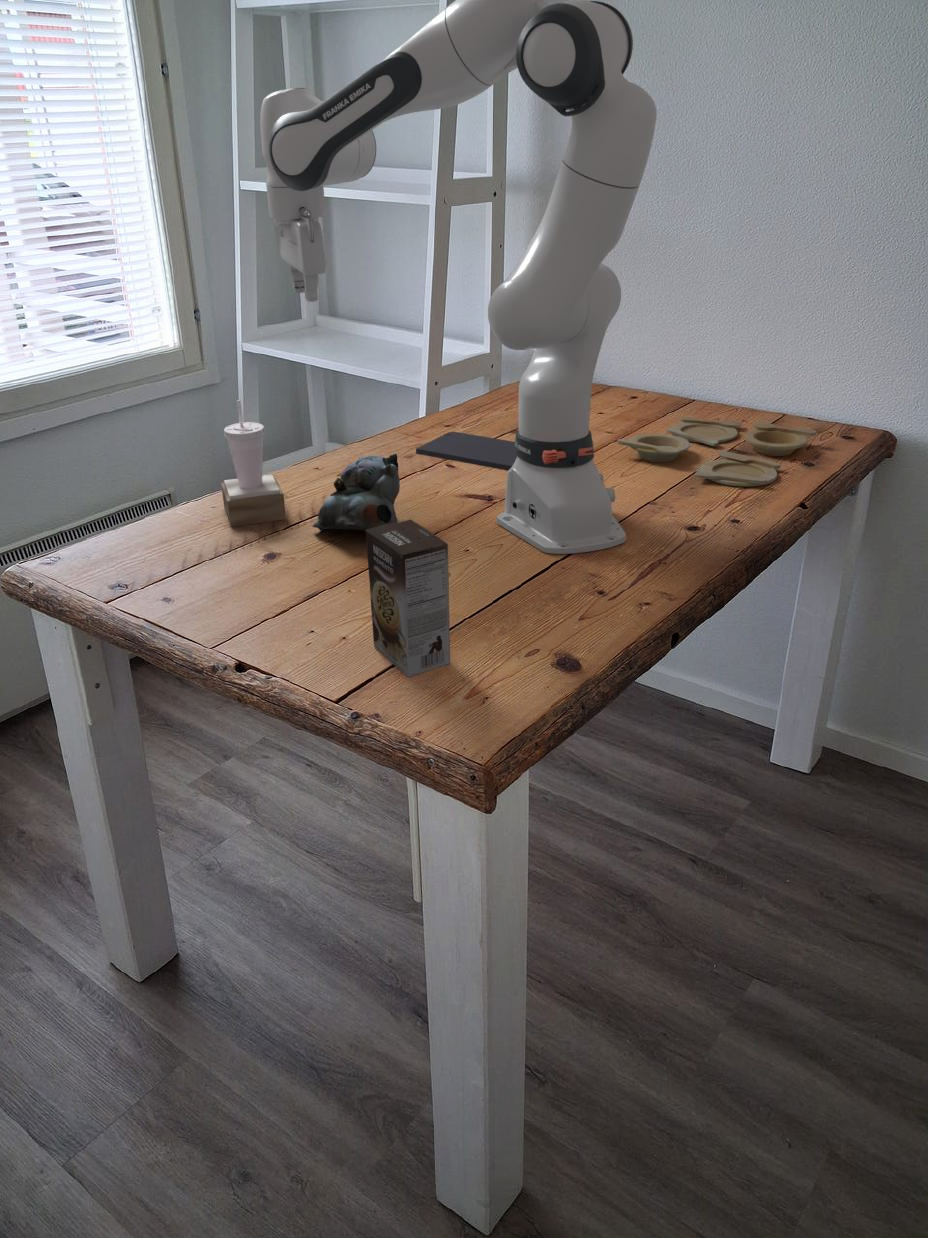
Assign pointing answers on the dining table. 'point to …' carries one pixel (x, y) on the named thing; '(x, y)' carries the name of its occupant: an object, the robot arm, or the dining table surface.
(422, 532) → the coffee box
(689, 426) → the tableware set
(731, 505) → the dining table surface
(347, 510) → the grey lumpy figure
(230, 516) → the pedestal
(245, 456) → the smoothie
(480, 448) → the notebook
